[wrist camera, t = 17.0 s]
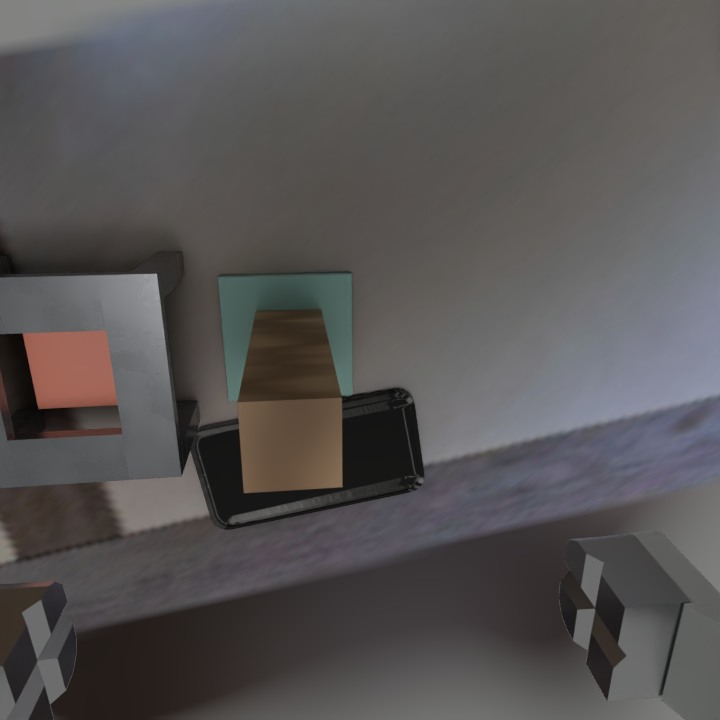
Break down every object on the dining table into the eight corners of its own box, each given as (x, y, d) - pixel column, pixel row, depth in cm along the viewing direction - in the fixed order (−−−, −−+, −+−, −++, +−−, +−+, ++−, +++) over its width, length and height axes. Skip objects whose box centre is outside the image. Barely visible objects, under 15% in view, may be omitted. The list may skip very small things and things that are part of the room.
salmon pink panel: (131, 306, 33) (121, 316, 31) (143, 389, 35) (134, 404, 33) (36, 309, 32) (19, 319, 30) (53, 393, 34) (38, 409, 32)
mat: (350, 272, 35) (351, 274, 35) (351, 392, 38) (352, 394, 37) (218, 275, 34) (218, 277, 34) (229, 398, 37) (228, 401, 37)
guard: (182, 251, 34) (156, 273, 27) (199, 420, 37) (181, 476, 31) (-17, 255, 32) (-95, 280, 26) (21, 430, 36) (-38, 490, 29)
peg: (321, 309, 35) (342, 397, 22) (322, 369, 37) (342, 487, 23) (255, 310, 35) (237, 402, 22) (259, 371, 36) (243, 493, 23)
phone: (426, 488, 40) (215, 533, 39) (422, 480, 41) (217, 523, 40) (412, 387, 38) (185, 432, 37) (408, 381, 39) (188, 425, 38)
